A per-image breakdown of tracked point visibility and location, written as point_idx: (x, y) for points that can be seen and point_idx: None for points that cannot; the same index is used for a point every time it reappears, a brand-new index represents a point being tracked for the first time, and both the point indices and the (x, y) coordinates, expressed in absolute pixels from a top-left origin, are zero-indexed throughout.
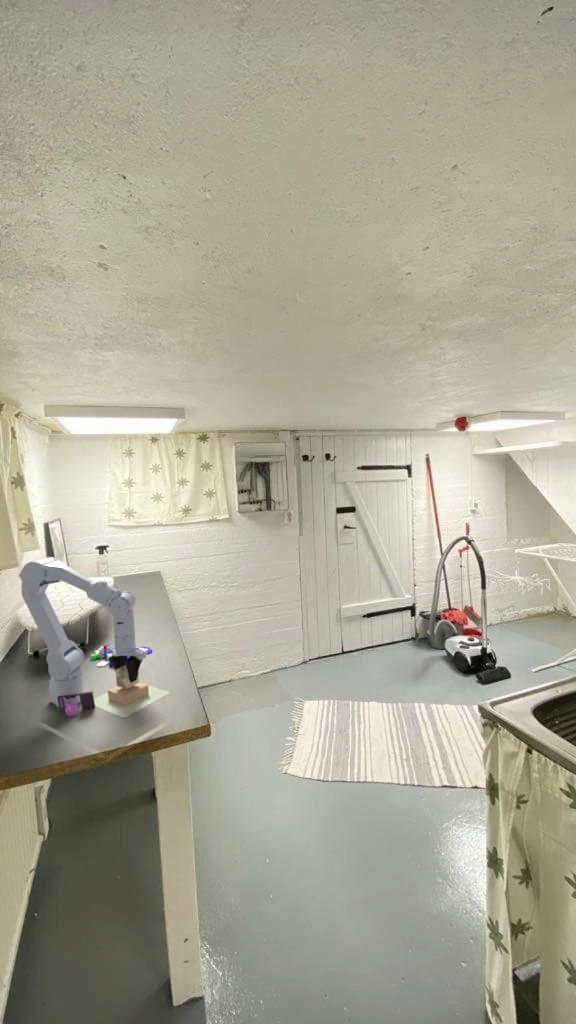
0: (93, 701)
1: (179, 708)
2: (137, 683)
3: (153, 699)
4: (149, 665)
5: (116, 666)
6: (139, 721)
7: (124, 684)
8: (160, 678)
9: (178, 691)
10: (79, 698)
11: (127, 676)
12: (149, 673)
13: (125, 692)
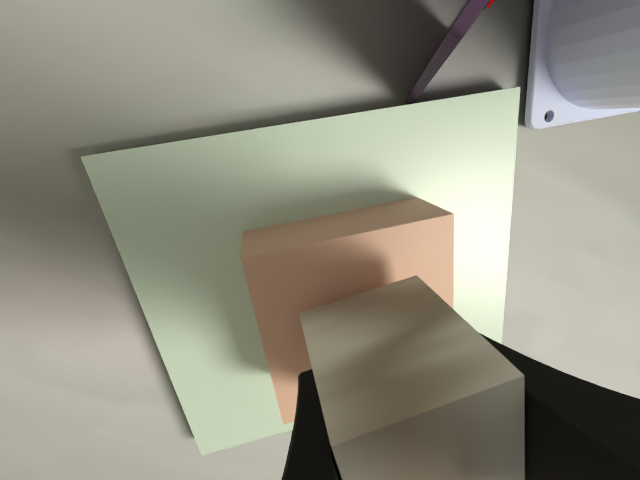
0: (422, 73)
1: (17, 429)
2: None
3: (195, 374)
4: None
5: (556, 417)
6: (19, 223)
7: (335, 321)
8: None
9: (219, 473)
10: (581, 51)
11: (320, 401)
12: None
13: (302, 287)
